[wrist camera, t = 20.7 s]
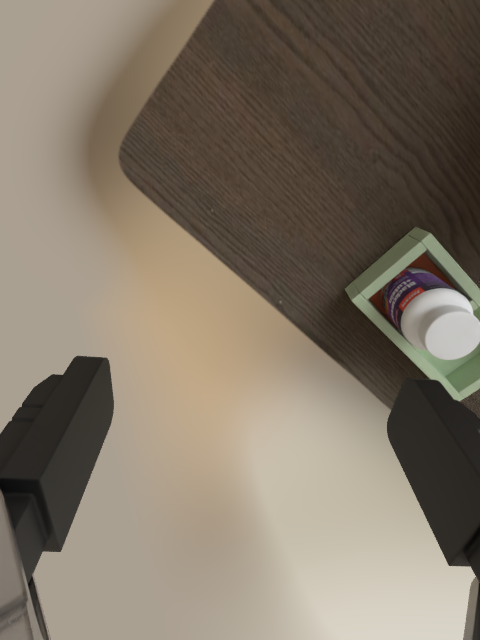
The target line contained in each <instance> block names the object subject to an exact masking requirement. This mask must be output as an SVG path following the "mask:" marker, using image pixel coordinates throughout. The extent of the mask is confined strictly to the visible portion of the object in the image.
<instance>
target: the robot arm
mask: <svg viewBox="0 0 480 640" xmlns="http://www.w3.org/2000/svg"><path fill="white" fill-rule="evenodd" d="M113 409H114V400H113V392H112V382H111V373H110V364H109V360H108V359H107V358H102V357H87V356H76V357H75V358H74V359H73V361H72V362H71V363H70V365H69V367H68V368H67V370H66V371H65V373H64V374H63V375H55V374H53V375H51V376H49V377H48V378H47V379H46V380H44V381H42V382H41V383H40V384H38V385H37V386H35V387H34V388H33V390H32V391H31V392H30V394H29V395H28V396H27V398H26V400H25V401H24V402H23V403H22V407H20V408H19V409H18V410H17V412H16V413H15V415H14V416H13V417H12V421H10V422H9V423H8V424H7V425H6V427H5V428H4V430H3V431H2V433H1V434H0V640H51V638H50V635H49V631H48V627H47V623H46V620H45V616H44V612H43V608H42V604H41V601H40V597H39V593H38V589H37V586H36V582H35V578H34V574H33V572H34V570H35V568H36V565H37V563H38V561H39V559H40V556H41V554H42V552H43V551H49V552H61V550H62V547H63V544H64V542H65V539H66V537H67V534H68V532H69V529H70V527H71V524H72V522H73V519H74V517H75V514H76V511H77V509H78V506H79V504H80V501H81V499H82V496H83V494H84V491H85V489H86V486H87V484H88V481H89V478H90V476H91V473H92V471H93V468H94V466H95V463H96V460H97V458H98V455H99V453H100V450H101V448H102V445H103V443H104V440H105V438H106V435H107V432H108V430H109V427H110V425H111V421H112V416H113ZM387 433H388V438H389V441H390V443H391V445H392V447H393V449H394V452H395V454H396V456H397V458H398V460H399V462H400V464H401V466H402V468H403V470H404V472H405V475H406V477H407V479H408V481H409V483H410V485H411V487H412V489H413V491H414V493H415V495H416V498H417V500H418V502H419V504H420V506H421V508H422V510H423V512H424V514H425V516H426V519H427V521H428V523H429V525H430V527H431V529H432V531H433V533H434V535H435V537H436V540H437V542H438V544H439V546H440V548H441V550H442V552H443V554H444V556H445V558H446V561H447V563H448V565H449V566H471V568H472V570H473V572H474V573H475V575H476V577H475V579H474V580H473V582H472V583H471V587H470V594H469V602H468V609H467V617H466V624H465V631H464V638H463V640H480V419H479V418H478V417H477V416H476V414H474V413H473V412H472V411H471V410H469V409H468V408H467V407H465V406H464V405H463V404H462V403H460V402H459V401H458V400H454V399H453V398H452V396H451V395H450V394H449V392H448V391H447V390H446V389H445V387H444V386H443V385H442V384H441V382H439V381H438V380H432V379H417V378H407V379H406V380H405V381H404V382H403V384H402V386H401V389H400V391H399V393H398V396H397V398H396V401H395V403H394V405H393V408H392V410H391V413H390V415H389V418H388V422H387Z"/></svg>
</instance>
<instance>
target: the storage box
mask: <svg viewBox="0 0 480 640" xmlns="http://www.w3.org/2000/svg"><path fill="white" fill-rule="evenodd" d="M410 267H418V268H422V269H425V270H427V271H429V272H430V273H432V274H434V275H435V276H436V277H438V278H439V279H441V280H442V281H443V282H445V283H446V284H448V285H449V286H451V287H452V288H453V289H455V290H456V291H458V292H459V293H461V294H462V295H463V296H464V297H465V298H466V299H467V300H468V301H469V303H470V304H471V306H472V309H473V315H474V316H475V317H476V318H477V319H478V320H479V322H480V289H479V288H478V286H477V285H476V284H475V283H474V282H473V281H472V280H471V279H470V277H469V276H468V275H467V274H466V273H465V272H464V271H463V269H462V268H461V267H460V266H459V265H458V264H457V263H456V261H455V260H454V259H453V258H452V257H451V256H450V255H449V253H448V252H447V251H446V250H445V249H444V248H443V247H442V245H441V244H440V243H439V242H438V241H437V240H436V239H435V238H434V236H433V235H432V234H431V233H429V232H426V231H424V230H422V229H419V228H417V227H415V228H414V229H412V230H411V231H410V232H409V233H408V234H407V235H406V236H404V237H403V238H402V239H401V240H400V241H399V242H398V243H396V244H395V245H394V246H393V247H392V248H391V249H390V250H388V251H387V252H386V253H385V254H384V255H383V256H382V257H380V258H379V259H378V260H377V261H376V262H375V263H374V264H372V265H371V266H370V267H369V268H368V269H367V270H366V271H364V272H363V273H362V274H361V275H360V276H359V277H358V278H356V279H355V280H354V281H353V282H352V283H351V284H350V285H348V286H347V287H346V288H345V291H346V293H347V294H348V296H349V298H350V299H351V301H352V302H353V303H354V304H355V305H356V306H357V307H358V308H359V309H360V310H361V311H362V312H363V313H364V314H365V315H366V316H367V317H368V318H369V319H370V320H371V321H372V322H373V323H374V324H375V325H376V326H377V327H378V328H379V329H380V330H381V331H382V332H383V333H384V334H385V335H386V336H387V337H388V338H389V339H390V340H391V341H392V342H393V343H394V344H395V345H396V346H397V347H398V348H399V349H400V350H401V351H402V352H403V353H404V354H405V355H406V356H407V357H408V358H409V359H410V360H411V361H412V362H413V363H414V364H415V365H416V366H417V367H418V368H419V369H420V370H421V371H422V372H423V373H424V374H425V375H426V376H427V377H428V378H429V379H432V380H438V381H439V382H441V384H442V385H443V386H444V387H445V389H446V390H447V391H448V392H449V394H450V395H451V396H452V398H453V399H454V400H458V401H461V400H462V399H464V398H466V397H467V396H469V395H470V394H472V393H473V392H475V391H476V390H478V389H480V342H479V344H478V345H477V347H476V348H475V349H474V350H473V351H472V352H470V353H469V354H467V355H465V356H464V357H461V358H458V359H453V360H444V359H439V358H437V357H434V356H433V355H431V354H430V353H429V352H428V351H426V350H422V349H419V348H417V347H415V346H413V345H412V344H411V343H410V342H409V341H408V340H407V339H406V338H405V336H404V335H403V334H402V332H401V331H400V330H399V328H398V327H397V326H396V324H395V323H394V322H393V320H392V319H391V318H390V316H389V315H388V314H387V313H386V311H385V310H384V308H383V306H382V303H381V290H382V287H383V286H384V285H386V284H387V283H388V282H389V281H390V280H392V279H393V278H394V277H395V276H396V275H397V274H399V273H400V272H401V271H402V270H403V269H405V268H410Z"/></svg>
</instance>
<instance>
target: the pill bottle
mask: <svg viewBox="0 0 480 640" xmlns="http://www.w3.org/2000/svg"><path fill="white" fill-rule="evenodd" d="M381 303H382V306H383V308H384V310H385V311H386V313H387V314H388V315H389V316H390V318H391V319H392V320H393V322H394V323H395V324H396V326H397V327H398V328H399V330H400V331H401V332H402V334H403V335H404V336H405V338H406V339H407V340H408V341H409V342H410V343H411V344H412V345H413V346H415V347H417V348H419V349H422V350H426V351H428V352H429V353H430V354H431V355H433V356H434V357H437V358H439V359H444V360H453V359H458V358H461V357H464V356H465V355H467V354H469V353H470V352H472V351H473V350H474V349H475V348H476V347H477V345H478V344H479V342H480V322H479V320H478V319H477V318H476V317H475V316H474V315H473V309H472V306H471V304H470V303H469V301H468V300H467V299H466V298H465V297H464V296H463V295H462V294H461V293H459V292H458V291H456V290H455V289H453V288H452V287H451V286H449V285H448V284H446V283H445V282H443V281H442V280H441V279H439V278H438V277H436V276H435V275H434V274H432V273H430V272H429V271H427V270H425V269H422V268H418V267H410V268H405V269H403V270H402V271H401V272H400V273H399V274H397V275H396V276H395V277H394V278H393V279H392V280H390V281H389V282H388V283H387V284H386V285H384V286H383V287H382V290H381Z"/></svg>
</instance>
